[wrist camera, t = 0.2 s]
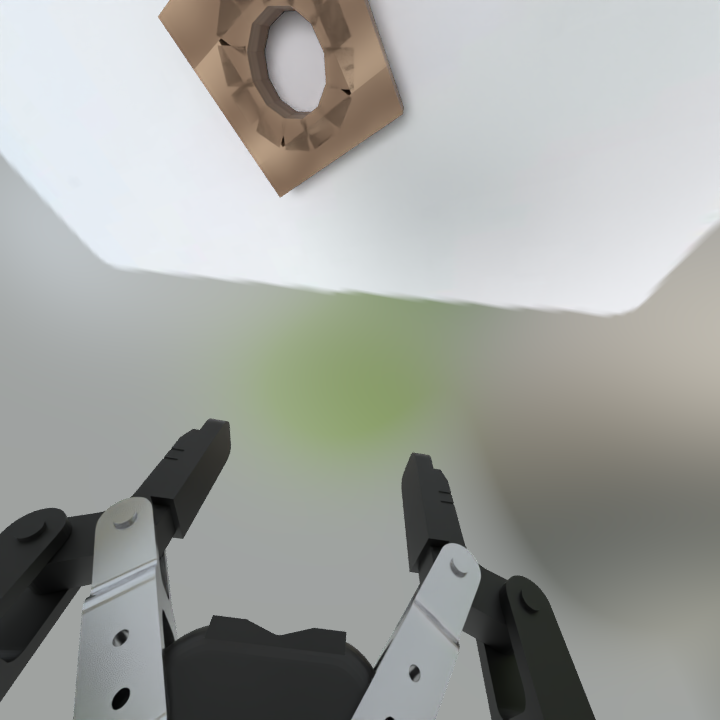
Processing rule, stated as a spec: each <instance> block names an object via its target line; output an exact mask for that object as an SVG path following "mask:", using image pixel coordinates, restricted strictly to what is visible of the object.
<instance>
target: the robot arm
mask: <svg viewBox="0 0 720 720" xmlns="http://www.w3.org/2000/svg"><path fill="white" fill-rule="evenodd" d="M230 449H231V441H230V425H229V422H227V421H222V420H216V419H208V420H207V421H206V423H205V424H204V425H203V427H202V428H201V429H200V430H196V429H192V430H191V431H189V432H188V433H186V434H185V435H183V436H182V437H180V438H179V440H178V441H177V442H176V443H175V445H174V446H173V447H172V449H171V450H170V451H169V452H168V453H167V454H166V455H165V457H164V459H162V461H161V462H160V463H159V464H158V466H157V467H156V468H155V469H154V470H153V471H152V473H151V474H150V475H149V476H148V478H147V479H146V480H145V481H144V482H143V484H142V485H141V486H140V487H139V489H138V490H137V491H136V492H135V493H134V494H133V496H131V497H130V498H127V499H124V500H122V501H119V502H117V503H116V504H114V505H112V506H111V507H110V508H108V509H107V510H106V511H104V512H100V513H94V514H87V515H80V516H74V517H67V516H66V514H65V513H64V512H63V511H62V510H60V509H57V508H47V509H42V510H38V511H34V512H32V513H29V514H27V515H25V516H23V517H22V518H20V519H18V520H16V521H15V522H14V523H12V524H11V525H10V526H8V527H7V528H6V529H5V530H4V531H3V532H2V533H1V534H0V701H1V700H2V699H3V697H4V696H5V694H6V693H7V691H8V690H9V689H10V687H11V686H12V684H13V683H14V681H15V680H16V679H17V677H18V676H19V674H20V673H21V671H22V670H23V668H24V667H25V666H26V664H27V663H28V661H29V660H30V659H31V657H32V656H33V654H34V653H35V651H36V650H37V649H38V647H39V646H40V644H41V643H42V641H43V640H44V639H45V637H46V636H47V634H48V633H49V631H50V630H51V629H52V627H53V626H54V624H55V623H56V621H57V620H58V619H59V617H60V616H61V614H62V613H63V611H64V610H65V609H66V607H67V606H68V604H69V603H70V601H71V600H72V599H73V597H74V596H75V594H76V593H77V591H78V590H79V589H80V587H81V586H85V585H89V584H92V589H91V595H90V597H88V598H86V600H85V602H84V605H83V610H82V620H81V632H80V645H79V656H78V669H77V680H76V692H75V704H74V717H73V720H435V719H436V716H437V713H438V710H439V707H440V705H441V701H442V699H443V696H444V693H445V690H446V688H447V685H448V682H449V679H450V676H451V674H452V671H453V668H454V665H455V662H456V659H457V656H458V652H459V644H458V641H459V638H460V635H461V632H462V631H464V632H466V633H467V634H469V635H471V636H473V637H474V638H476V641H477V646H478V651H479V657H480V662H481V667H482V672H483V677H484V682H485V688H486V693H487V697H488V703H489V709H490V714H491V719H492V720H596V719H595V717H594V714H593V712H592V709H591V707H590V704H589V702H588V699H587V697H586V694H585V692H584V689H583V687H582V684H581V681H580V679H579V676H578V674H577V671H576V669H575V666H574V664H573V661H572V659H571V656H570V654H569V651H568V649H567V646H566V643H565V641H564V638H563V636H562V634H561V631H560V628H559V626H558V623H557V621H556V618H555V616H554V613H553V611H552V608H551V605H550V603H549V601H548V599H547V598H546V596H545V595H544V593H543V592H542V591H541V589H540V588H539V587H538V586H537V585H536V584H535V583H533V582H532V581H531V580H529V579H527V578H525V577H523V576H513V577H511V578H510V579H509V580H506V579H504V578H502V577H500V576H498V575H496V574H494V573H492V572H490V571H488V570H486V569H485V568H483V567H482V566H480V565H479V564H478V563H477V561H476V559H475V557H474V556H473V555H472V554H471V553H470V551H468V550H467V548H466V546H465V543H464V540H463V536H462V533H461V529H460V525H459V521H458V517H457V514H456V510H455V507H454V505H453V503H454V502H453V499H452V495H451V491H450V487H449V484H448V481H447V479H446V478H445V476H444V474H443V473H442V471H441V470H438V469H433V465H432V460H431V457H430V456H429V455H425V454H418V453H412V454H411V456H410V458H409V461H408V464H407V466H406V468H405V471H404V474H403V477H402V498H403V508H404V519H405V528H406V539H407V549H408V559H409V568H410V572H415V573H419V579H420V584H419V586H418V588H417V590H416V591H415V593H414V595H413V597H412V599H411V601H410V602H409V604H408V606H407V608H406V610H405V612H404V614H403V615H402V617H401V619H400V621H399V623H398V625H397V626H396V628H395V630H394V632H393V633H392V635H391V637H390V639H389V640H388V642H387V644H386V646H385V647H384V649H383V651H382V653H381V655H380V656H379V658H378V660H377V662H376V664H375V665H374V668H373V667H372V666H371V664H370V663H369V662H368V660H367V659H366V658H365V657H364V656H363V655H362V654H361V653H360V652H359V651H358V650H357V649H356V648H355V647H353V646H352V645H350V644H349V643H346V632H342V631H333V630H326V629H318V628H312V629H307V630H303V631H298V632H294V633H289V634H285V635H275V634H273V633H271V632H269V631H267V630H265V629H264V628H262V627H260V626H258V625H256V624H254V623H252V622H250V621H248V620H247V619H239V618H231V617H223V616H215V615H213V617H212V619H211V622H210V625H209V626H205V627H202V628H199V629H196V630H194V631H192V632H190V633H188V634H186V635H184V636H182V637H181V638H179V639H178V640H177V632H176V625H175V619H174V614H173V609H172V602H171V594H170V585H169V576H168V567H167V558H166V550H165V549H166V547H167V546H168V544H169V542H170V540H171V539H172V537H173V538H181V539H183V538H184V536H185V534H186V532H187V531H188V529H189V527H190V525H191V524H192V522H193V520H194V518H195V517H196V515H197V513H198V511H199V509H200V508H201V506H202V504H203V502H204V501H205V499H206V497H207V495H208V493H209V491H210V490H211V488H212V486H213V485H214V483H215V481H216V479H217V477H218V476H219V474H220V472H221V470H222V469H223V466H224V465H225V463H226V461H227V459H228V457H229V454H230Z"/></svg>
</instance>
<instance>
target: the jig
mask: <svg viewBox="0 0 720 720" xmlns="http://www.w3.org/2000/svg"><path fill="white" fill-rule="evenodd" d="M284 11H297V12H298V13H299V14H300V15H302V16H303V17H304V18H305V19H306V20H307V21H309V22H310V23H311V24H312V26H313V29H314V31H315V33H316V36H317V38H318V40H319V42H320V45H321V47H322V49H323V52H324V58H325V75H326V85H325V88H324V90H323V93H322V96H321V99H320V102H319V105H318V107H317V108H316V109H314V110H313V111H312V112H296V111H295V110H294V109H292V108H291V107H290V106H288V105H287V104H286V103H284V102H283V101H282V100H280V98H279V96H278V94H277V92H276V91H275V89H274V87H273V85H272V83H271V82H270V80H269V77H268V71H267V65H266V59H265V53H264V51H265V46H266V42H267V37H268V32H269V27H270V26H271V25H272V23H273V22H274V21H275V20H276V19H277V18H278V17H279V16H280V15H281V14H282V13H283V12H284ZM158 18H159V19H160V21H161V22H162V23H163V25H164V26H165V28H166V29H167V31H168V32H169V34H170V35H171V37H172V38H173V40H174V41H175V43H176V44H177V46H178V47H179V49H180V50H181V52H182V53H183V55H184V56H185V58H186V59H187V60H188V62H189V63H190V65H191V66H192V68H193V69H194V71H195V72H196V74H197V75H198V77H199V78H200V80H201V81H202V83H203V84H204V86H205V87H206V89H207V90H208V92H209V93H210V95H211V96H212V97H213V99H214V100H215V102H216V103H217V105H218V106H219V108H220V109H221V111H222V112H223V114H224V115H225V117H226V118H227V120H228V121H229V123H230V124H231V126H232V127H233V129H234V130H235V132H236V133H237V134H238V136H239V137H240V139H241V140H242V142H243V143H244V145H245V146H246V148H247V149H248V151H249V152H250V154H251V155H252V157H253V158H254V160H255V161H256V163H257V164H258V166H259V167H260V169H261V170H262V171H263V173H264V174H265V176H266V177H267V179H268V180H269V182H270V183H271V185H272V186H273V188H274V189H275V191H276V192H277V194H278V195H279V197H282V196H283V195H285V194H286V193H288V192H289V191H290V190H292V189H293V188H295V187H296V186H298V185H299V184H301V183H302V182H304V181H305V180H307V179H308V178H310V177H311V176H313V175H314V174H315V173H317V172H318V171H320V170H321V169H323V168H324V167H326V166H327V165H329V164H330V163H332V162H333V161H335V160H336V159H338V158H339V157H340V156H342V155H343V154H345V153H346V152H348V151H349V150H351V149H352V148H354V147H355V146H357V145H358V144H360V143H361V142H363V141H364V140H365V139H367V138H368V137H370V136H371V135H373V134H374V133H376V132H377V131H379V130H380V129H382V128H383V127H385V126H386V125H387V124H389V123H390V122H392V121H393V120H395V119H396V118H398V117H399V116H401V115H402V114H403V109H404V107H403V104H402V101H401V98H400V95H399V92H398V89H397V86H396V83H395V80H394V77H393V74H392V71H391V68H390V65H389V62H388V59H387V56H386V53H385V50H384V47H383V44H382V41H381V38H380V35H379V32H378V29H377V26H376V23H375V20H374V17H373V14H372V11H371V8H370V5H369V2H368V0H169V2H168V3H167V5H166V6H165V7H164V9H163V10H162V12H161V13H160V15H159V16H158Z"/></svg>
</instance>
